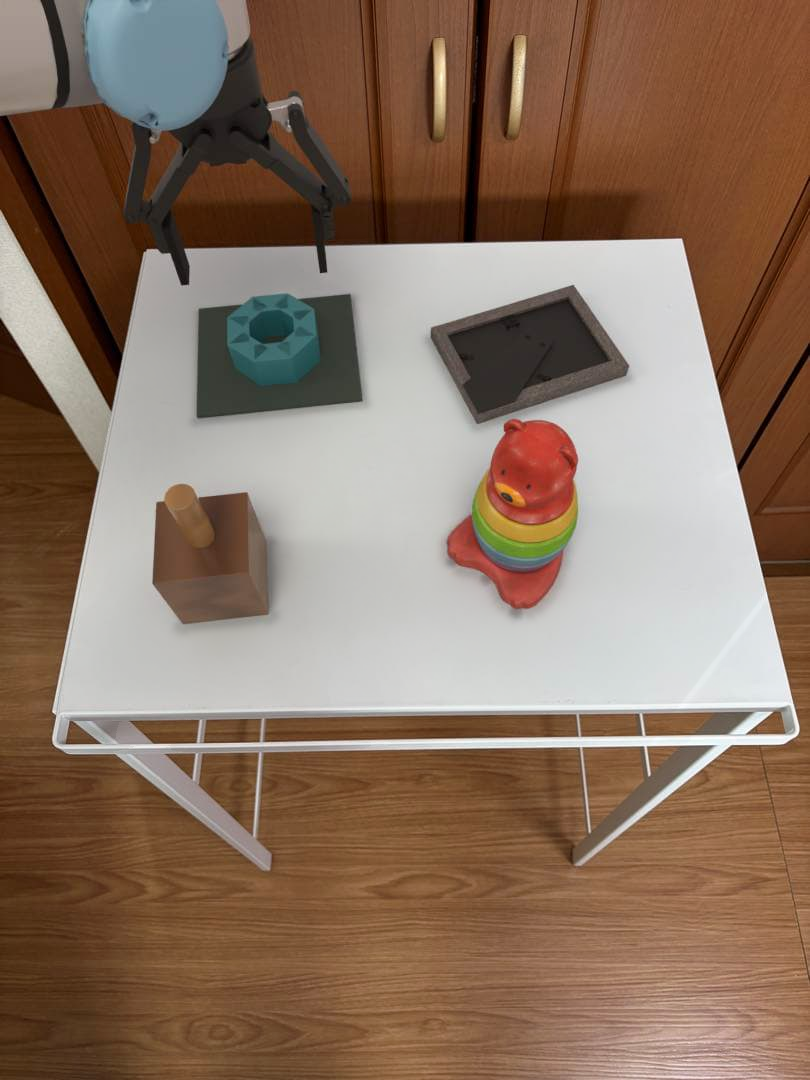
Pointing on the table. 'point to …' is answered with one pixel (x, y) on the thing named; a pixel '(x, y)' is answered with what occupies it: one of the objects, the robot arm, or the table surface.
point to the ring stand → (209, 556)
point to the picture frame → (527, 353)
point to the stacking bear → (522, 512)
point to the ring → (273, 320)
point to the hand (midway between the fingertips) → (254, 270)
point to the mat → (239, 394)
